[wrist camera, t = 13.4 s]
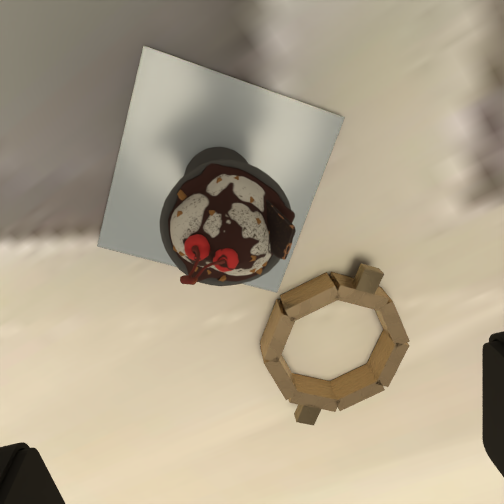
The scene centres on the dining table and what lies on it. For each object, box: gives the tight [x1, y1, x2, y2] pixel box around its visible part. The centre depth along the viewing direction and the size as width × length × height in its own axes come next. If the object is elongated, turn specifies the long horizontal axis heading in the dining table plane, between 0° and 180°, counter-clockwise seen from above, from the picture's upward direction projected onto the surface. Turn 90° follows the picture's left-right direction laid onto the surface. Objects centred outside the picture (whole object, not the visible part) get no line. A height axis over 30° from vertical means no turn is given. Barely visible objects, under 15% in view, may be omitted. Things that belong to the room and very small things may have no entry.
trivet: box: [97, 46, 345, 292], centre depth 33 cm, size 14×14×1 cm
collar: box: [260, 264, 409, 425], centre depth 38 cm, size 15×11×2 cm
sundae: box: [160, 147, 296, 286], centre depth 25 cm, size 7×7×15 cm
